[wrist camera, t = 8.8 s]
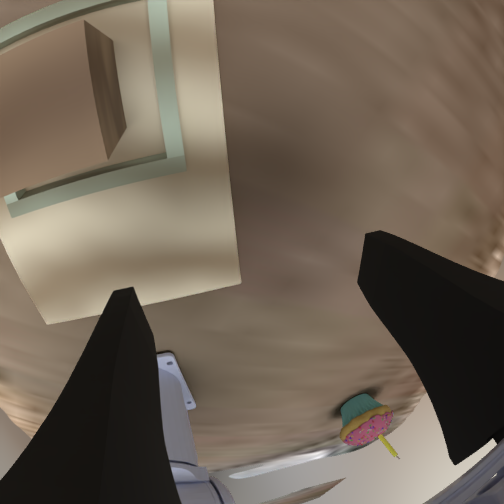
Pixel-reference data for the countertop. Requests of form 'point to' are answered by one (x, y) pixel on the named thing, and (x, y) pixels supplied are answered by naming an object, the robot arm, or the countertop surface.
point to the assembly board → (133, 171)
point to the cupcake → (365, 421)
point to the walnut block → (58, 106)
